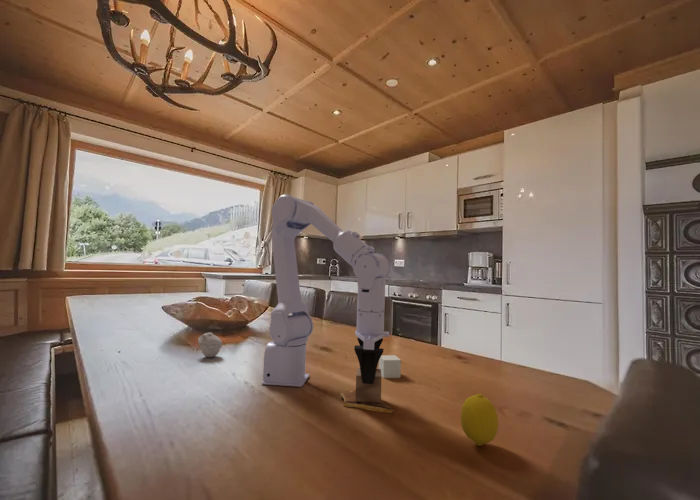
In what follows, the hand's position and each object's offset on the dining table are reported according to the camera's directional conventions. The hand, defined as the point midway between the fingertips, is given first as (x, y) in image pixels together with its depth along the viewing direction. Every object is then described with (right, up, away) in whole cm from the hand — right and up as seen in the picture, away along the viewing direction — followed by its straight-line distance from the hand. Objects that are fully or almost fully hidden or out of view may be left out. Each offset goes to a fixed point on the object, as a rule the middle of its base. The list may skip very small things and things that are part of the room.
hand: (368, 376), depth 67 cm
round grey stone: (-45, -5, +28) cm, 53 cm away
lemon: (+17, -5, -16) cm, 23 cm away
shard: (0, -6, 0) cm, 6 cm away
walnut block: (0, -4, -1) cm, 4 cm away
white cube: (+6, -6, +17) cm, 19 cm away
